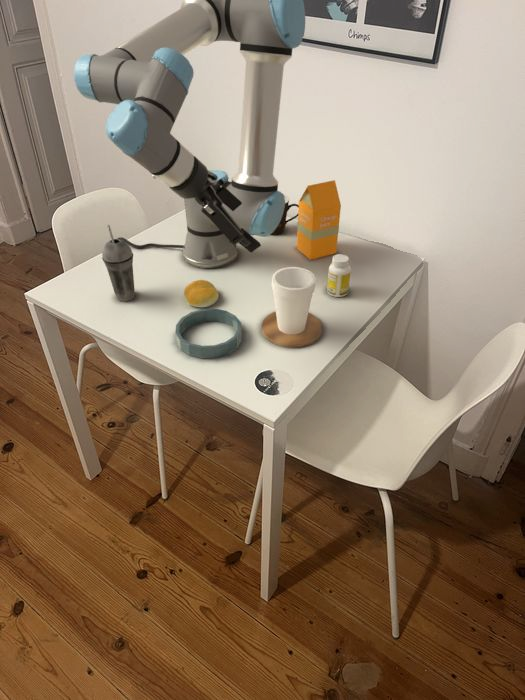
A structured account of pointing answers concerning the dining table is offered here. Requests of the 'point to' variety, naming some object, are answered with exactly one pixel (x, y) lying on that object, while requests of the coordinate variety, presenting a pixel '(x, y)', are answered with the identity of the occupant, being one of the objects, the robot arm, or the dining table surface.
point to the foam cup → (292, 298)
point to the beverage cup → (119, 267)
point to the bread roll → (201, 293)
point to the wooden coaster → (291, 341)
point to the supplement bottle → (338, 276)
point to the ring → (210, 350)
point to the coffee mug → (284, 217)
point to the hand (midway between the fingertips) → (246, 226)
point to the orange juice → (318, 220)
